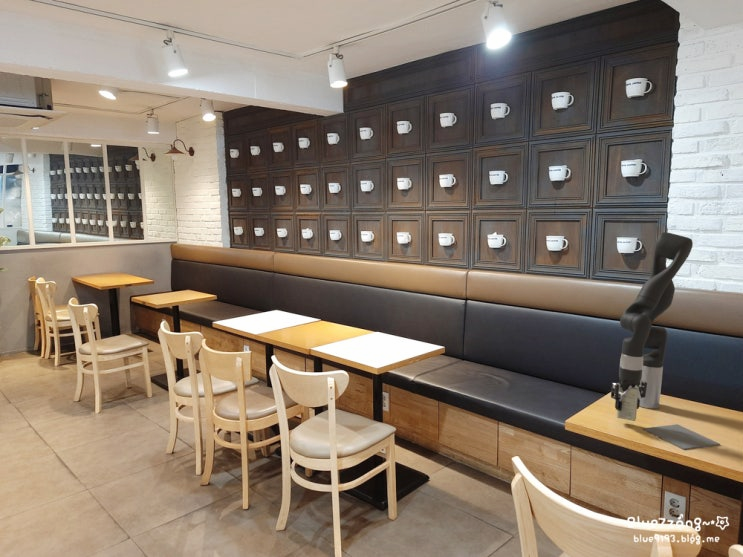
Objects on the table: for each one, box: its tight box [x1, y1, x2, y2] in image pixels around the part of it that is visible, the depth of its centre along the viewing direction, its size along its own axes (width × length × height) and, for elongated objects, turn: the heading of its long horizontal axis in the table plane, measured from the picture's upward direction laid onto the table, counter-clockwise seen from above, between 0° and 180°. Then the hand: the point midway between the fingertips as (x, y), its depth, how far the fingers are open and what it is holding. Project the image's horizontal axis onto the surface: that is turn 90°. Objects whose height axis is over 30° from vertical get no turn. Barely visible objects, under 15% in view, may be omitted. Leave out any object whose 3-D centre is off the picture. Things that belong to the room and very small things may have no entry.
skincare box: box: [616, 387, 638, 422], centre depth 190 cm, size 6×4×12 cm
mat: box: [642, 424, 721, 451], centre depth 181 cm, size 17×16×1 cm
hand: (626, 409), depth 190 cm, fingers closed on skincare box, 7 cm apart
